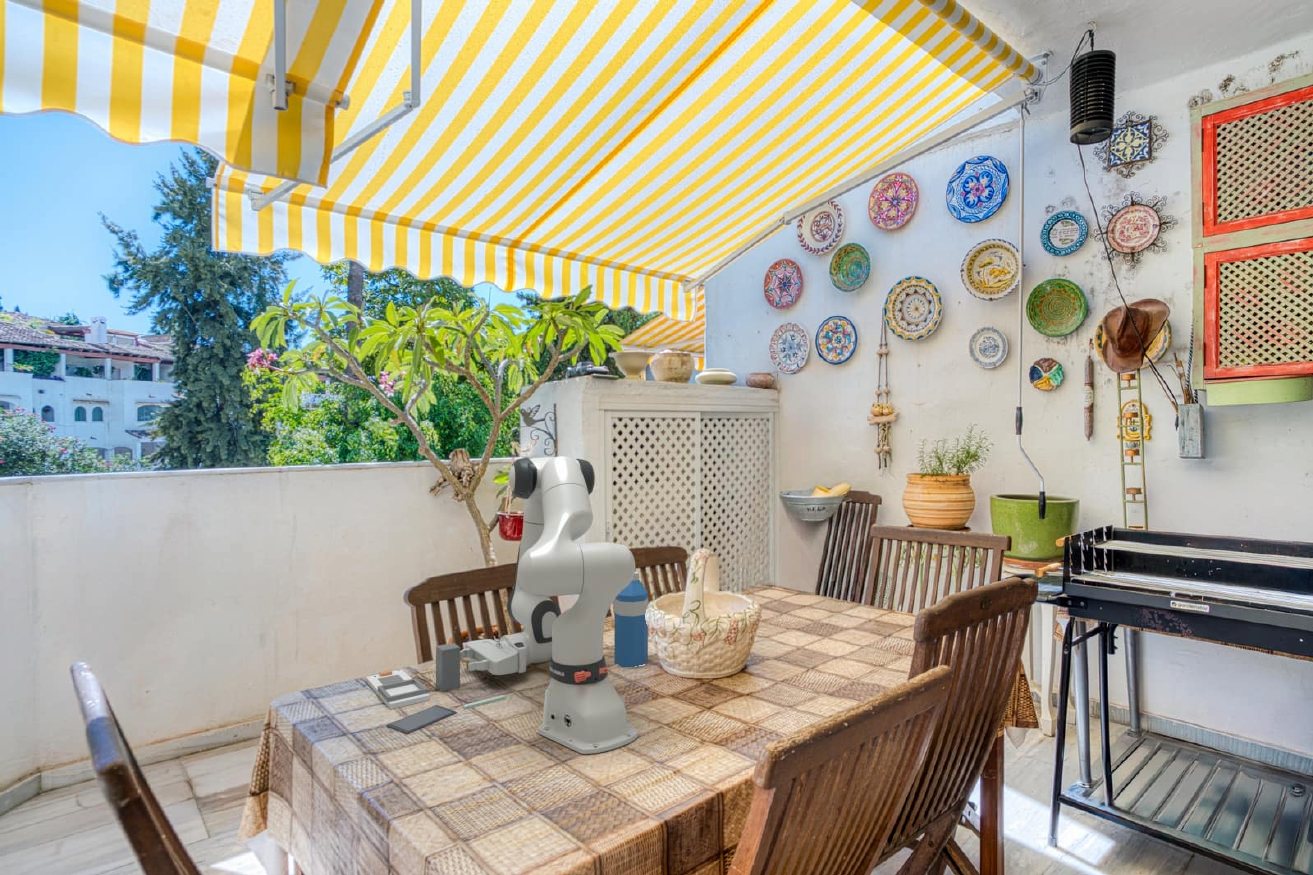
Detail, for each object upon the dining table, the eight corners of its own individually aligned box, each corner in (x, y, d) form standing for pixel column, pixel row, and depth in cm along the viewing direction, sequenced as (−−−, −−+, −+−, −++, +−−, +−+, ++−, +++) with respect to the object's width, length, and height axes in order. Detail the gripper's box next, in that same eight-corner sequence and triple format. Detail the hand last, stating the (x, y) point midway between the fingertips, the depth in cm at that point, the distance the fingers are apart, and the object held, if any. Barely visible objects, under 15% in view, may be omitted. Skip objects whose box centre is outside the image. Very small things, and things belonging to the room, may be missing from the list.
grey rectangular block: (460, 687, 164) (460, 647, 164) (442, 691, 161) (442, 650, 161) (453, 682, 167) (453, 642, 167) (435, 686, 164) (436, 646, 165)
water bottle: (633, 670, 176) (633, 577, 176) (607, 663, 181) (607, 573, 182) (654, 661, 183) (654, 571, 183) (629, 654, 189) (629, 568, 189)
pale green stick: (503, 699, 157) (503, 695, 157) (505, 700, 156) (505, 696, 156) (462, 709, 151) (462, 705, 151) (464, 711, 150) (464, 706, 150)
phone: (456, 715, 148) (456, 711, 148) (406, 737, 137) (407, 732, 137) (436, 708, 152) (436, 704, 152) (386, 729, 141) (386, 724, 141)
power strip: (429, 700, 155) (429, 690, 155) (390, 709, 150) (390, 699, 150) (402, 674, 173) (402, 665, 173) (365, 681, 167) (365, 673, 167)
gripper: (495, 630, 183) (446, 639, 174) (528, 649, 166) (475, 659, 158) (495, 653, 183) (446, 663, 174) (528, 674, 166) (475, 686, 158)
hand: (460, 662), depth 166 cm, fingers open, 8 cm apart
